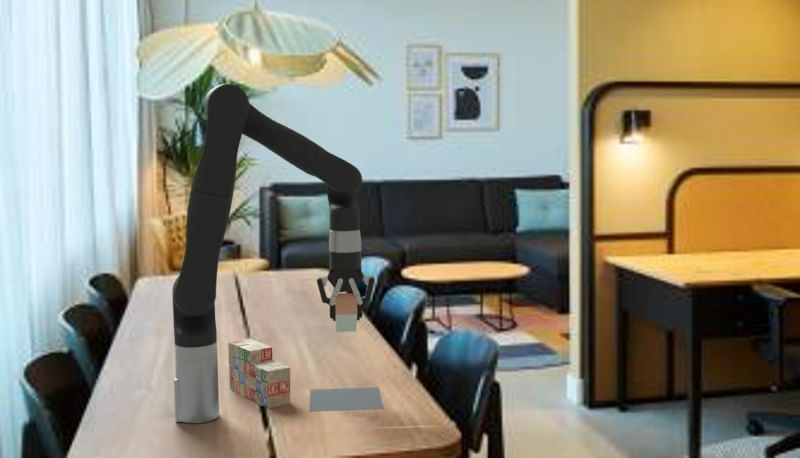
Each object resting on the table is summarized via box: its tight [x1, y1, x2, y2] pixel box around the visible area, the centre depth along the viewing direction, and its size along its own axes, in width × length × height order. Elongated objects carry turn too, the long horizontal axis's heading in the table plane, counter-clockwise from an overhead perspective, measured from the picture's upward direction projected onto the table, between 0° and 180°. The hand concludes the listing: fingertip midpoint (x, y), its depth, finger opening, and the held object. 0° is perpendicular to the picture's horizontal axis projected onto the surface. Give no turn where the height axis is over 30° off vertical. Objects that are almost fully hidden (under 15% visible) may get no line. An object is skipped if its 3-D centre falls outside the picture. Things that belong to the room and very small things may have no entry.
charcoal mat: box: [309, 386, 384, 413], centre depth 203 cm, size 17×17×1 cm
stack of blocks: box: [227, 338, 291, 409], centre depth 206 cm, size 21×6×12 cm, turn 36°
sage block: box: [334, 292, 358, 333], centre depth 201 cm, size 5×5×9 cm
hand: (346, 319), depth 200 cm, fingers closed on sage block, 5 cm apart
